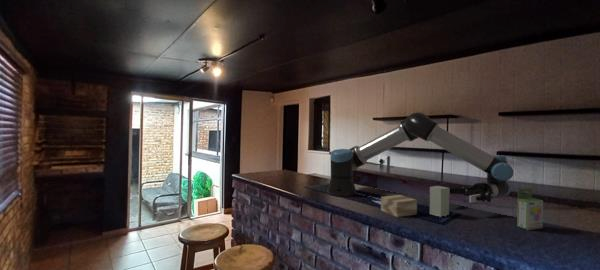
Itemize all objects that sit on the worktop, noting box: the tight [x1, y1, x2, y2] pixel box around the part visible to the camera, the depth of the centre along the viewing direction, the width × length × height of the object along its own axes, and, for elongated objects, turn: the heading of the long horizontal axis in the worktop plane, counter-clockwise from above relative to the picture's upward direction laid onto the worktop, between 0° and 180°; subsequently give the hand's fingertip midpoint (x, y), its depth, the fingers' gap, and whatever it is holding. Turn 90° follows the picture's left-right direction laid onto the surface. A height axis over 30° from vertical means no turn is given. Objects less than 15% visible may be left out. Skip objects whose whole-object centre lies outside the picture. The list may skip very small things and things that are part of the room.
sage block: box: [429, 185, 450, 218], centre depth 116 cm, size 5×5×11 cm
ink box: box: [516, 187, 544, 231], centre depth 100 cm, size 7×4×13 cm, turn 105°
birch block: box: [380, 194, 418, 218], centre depth 119 cm, size 10×10×6 cm
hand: (453, 195), depth 120 cm, fingers open, 13 cm apart
